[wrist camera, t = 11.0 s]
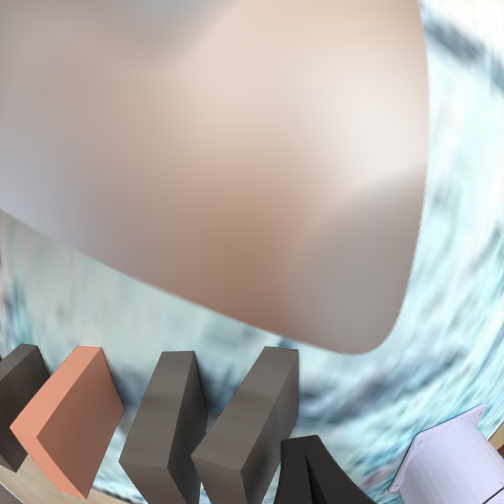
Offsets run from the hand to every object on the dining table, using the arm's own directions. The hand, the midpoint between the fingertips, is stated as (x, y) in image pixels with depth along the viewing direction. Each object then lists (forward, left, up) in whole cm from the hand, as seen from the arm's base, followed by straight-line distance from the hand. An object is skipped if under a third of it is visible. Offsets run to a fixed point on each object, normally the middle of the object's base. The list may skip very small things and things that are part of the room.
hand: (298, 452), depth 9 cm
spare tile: (0, +10, -5) cm, 11 cm away
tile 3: (0, +15, -5) cm, 16 cm away
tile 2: (0, +5, -5) cm, 7 cm away
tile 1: (0, 0, -5) cm, 5 cm away
